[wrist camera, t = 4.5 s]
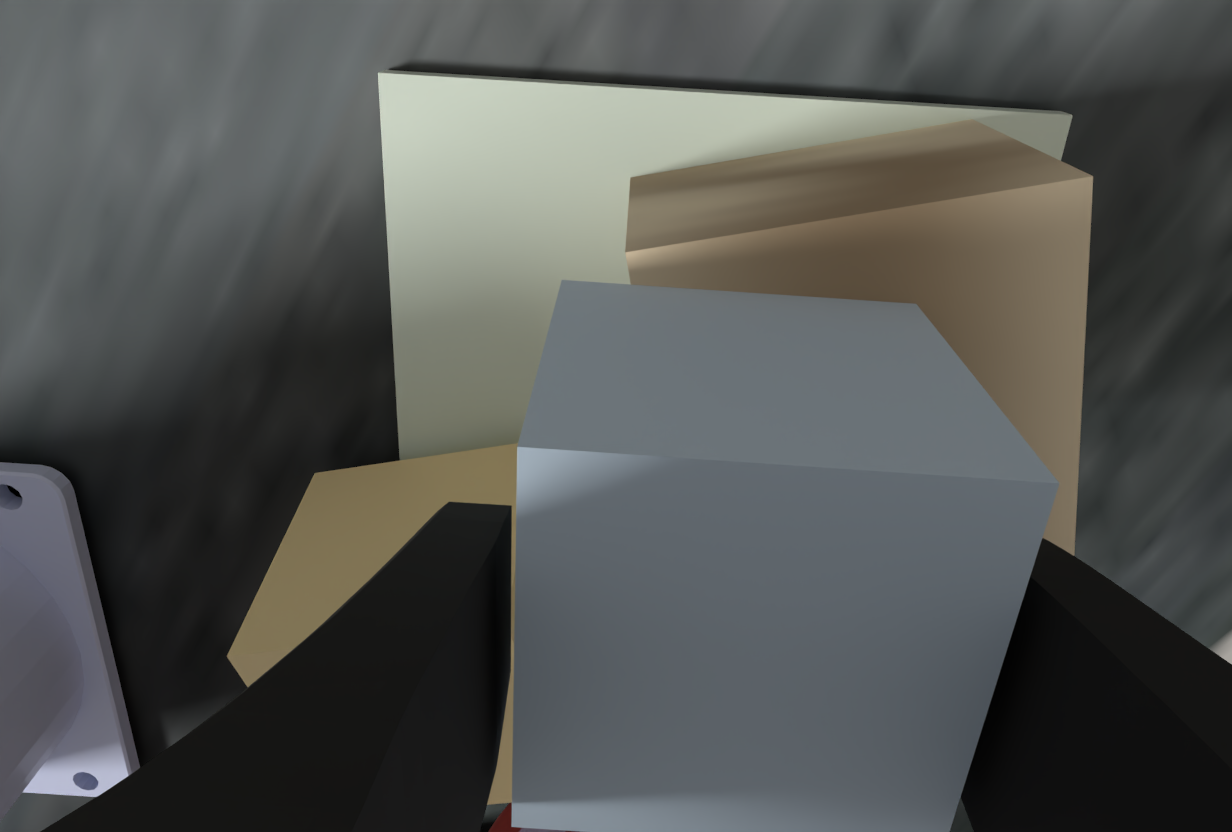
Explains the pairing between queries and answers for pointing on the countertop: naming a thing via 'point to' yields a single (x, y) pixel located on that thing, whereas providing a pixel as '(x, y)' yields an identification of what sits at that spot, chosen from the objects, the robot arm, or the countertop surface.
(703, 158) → the plate
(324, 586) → the ochre block
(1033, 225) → the maple block
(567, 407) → the blue block
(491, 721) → the robot arm
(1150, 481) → the countertop surface
